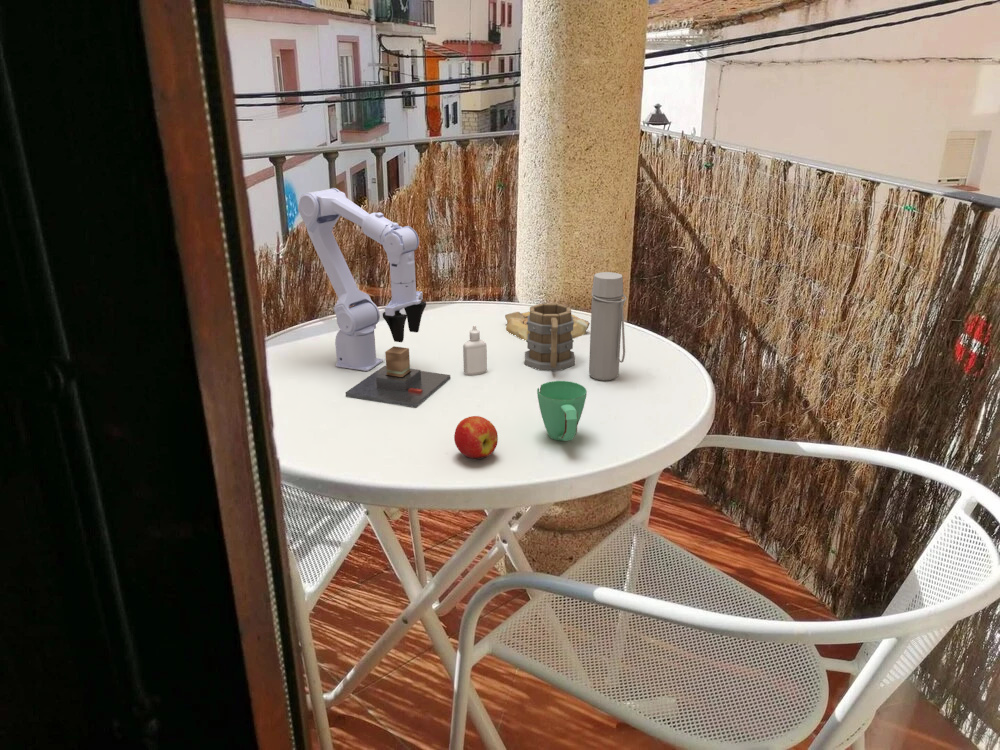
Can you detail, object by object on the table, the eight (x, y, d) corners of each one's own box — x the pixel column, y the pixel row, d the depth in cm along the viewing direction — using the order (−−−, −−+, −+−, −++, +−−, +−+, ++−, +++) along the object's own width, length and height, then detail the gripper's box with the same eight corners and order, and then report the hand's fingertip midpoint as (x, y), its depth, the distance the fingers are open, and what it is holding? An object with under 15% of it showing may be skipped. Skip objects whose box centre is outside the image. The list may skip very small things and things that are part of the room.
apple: (470, 470, 142) (469, 431, 139) (446, 453, 148) (445, 416, 145) (505, 458, 146) (504, 420, 143) (480, 442, 152) (479, 405, 149)
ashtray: (592, 344, 207) (592, 326, 205) (504, 344, 207) (504, 326, 206) (584, 317, 229) (584, 301, 227) (505, 317, 229) (505, 301, 228)
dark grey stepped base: (345, 396, 174) (344, 382, 173) (384, 369, 190) (383, 356, 188) (416, 407, 168) (415, 393, 167) (450, 378, 183) (449, 365, 182)
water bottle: (581, 377, 184) (585, 276, 175) (600, 368, 189) (605, 269, 180) (613, 386, 178) (618, 282, 169) (631, 377, 183) (638, 276, 174)
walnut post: (386, 374, 176) (385, 351, 174) (395, 369, 180) (393, 346, 178) (402, 377, 175) (400, 353, 173) (410, 371, 178) (408, 348, 176)
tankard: (524, 352, 200) (524, 297, 194) (572, 353, 200) (574, 297, 194) (524, 381, 181) (524, 321, 176) (577, 382, 181) (579, 322, 175)
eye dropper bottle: (485, 376, 185) (484, 329, 181) (462, 375, 186) (461, 328, 181) (487, 369, 189) (487, 323, 185) (465, 368, 190) (464, 322, 185)
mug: (532, 426, 159) (532, 382, 155) (578, 423, 160) (579, 379, 156) (546, 459, 145) (547, 411, 141) (596, 455, 147) (598, 408, 143)
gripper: (403, 290, 168) (406, 348, 173) (432, 274, 181) (435, 329, 186) (375, 287, 171) (379, 344, 176) (406, 272, 183) (409, 326, 188)
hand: (406, 336), depth 181 cm, fingers open, 7 cm apart
